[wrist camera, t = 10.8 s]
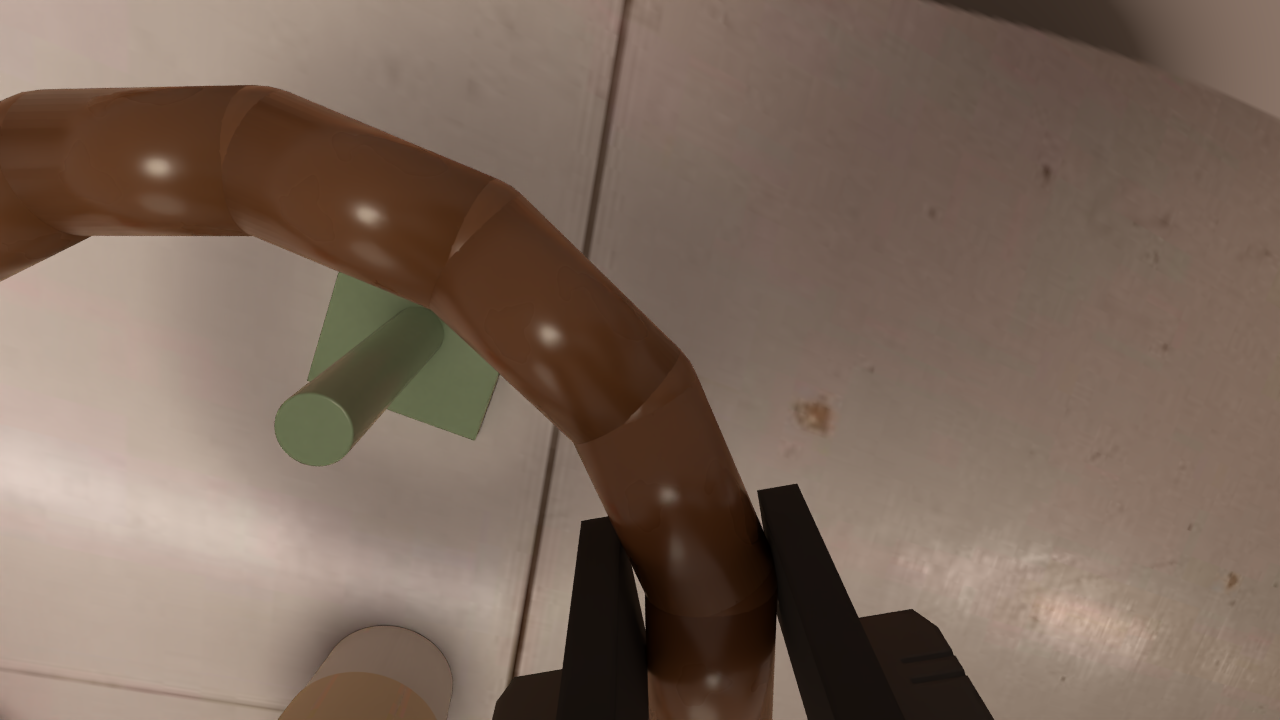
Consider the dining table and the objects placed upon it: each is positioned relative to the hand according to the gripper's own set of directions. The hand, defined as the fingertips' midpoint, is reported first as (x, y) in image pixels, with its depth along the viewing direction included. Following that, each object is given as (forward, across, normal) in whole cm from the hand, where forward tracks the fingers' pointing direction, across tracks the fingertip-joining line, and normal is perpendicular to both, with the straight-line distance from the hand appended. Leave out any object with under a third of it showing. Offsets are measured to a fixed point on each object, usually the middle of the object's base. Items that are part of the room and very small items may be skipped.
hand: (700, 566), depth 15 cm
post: (+22, -11, +1) cm, 25 cm away
